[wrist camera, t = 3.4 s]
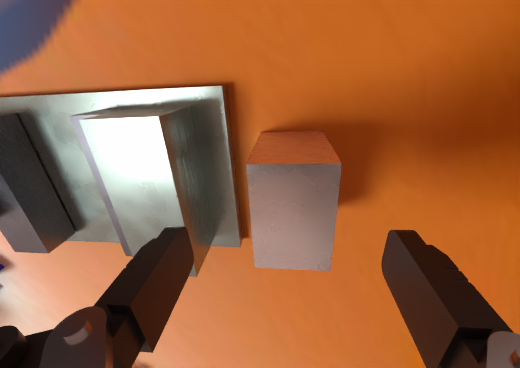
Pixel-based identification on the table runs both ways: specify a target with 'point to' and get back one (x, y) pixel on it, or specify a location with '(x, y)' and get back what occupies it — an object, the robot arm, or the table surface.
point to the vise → (138, 163)
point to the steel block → (293, 199)
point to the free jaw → (27, 195)
